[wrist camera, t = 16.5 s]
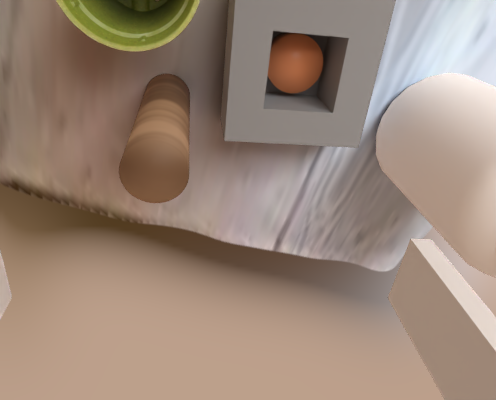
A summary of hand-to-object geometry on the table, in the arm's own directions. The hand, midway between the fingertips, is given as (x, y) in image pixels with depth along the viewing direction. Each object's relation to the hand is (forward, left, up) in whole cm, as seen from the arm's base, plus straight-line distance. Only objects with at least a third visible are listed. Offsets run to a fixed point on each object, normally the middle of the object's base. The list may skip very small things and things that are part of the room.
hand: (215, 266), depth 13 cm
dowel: (+2, -3, -27) cm, 28 cm away
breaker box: (-2, +8, -27) cm, 29 cm away
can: (+4, +24, -28) cm, 37 cm away
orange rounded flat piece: (-2, +8, -27) cm, 28 cm away
